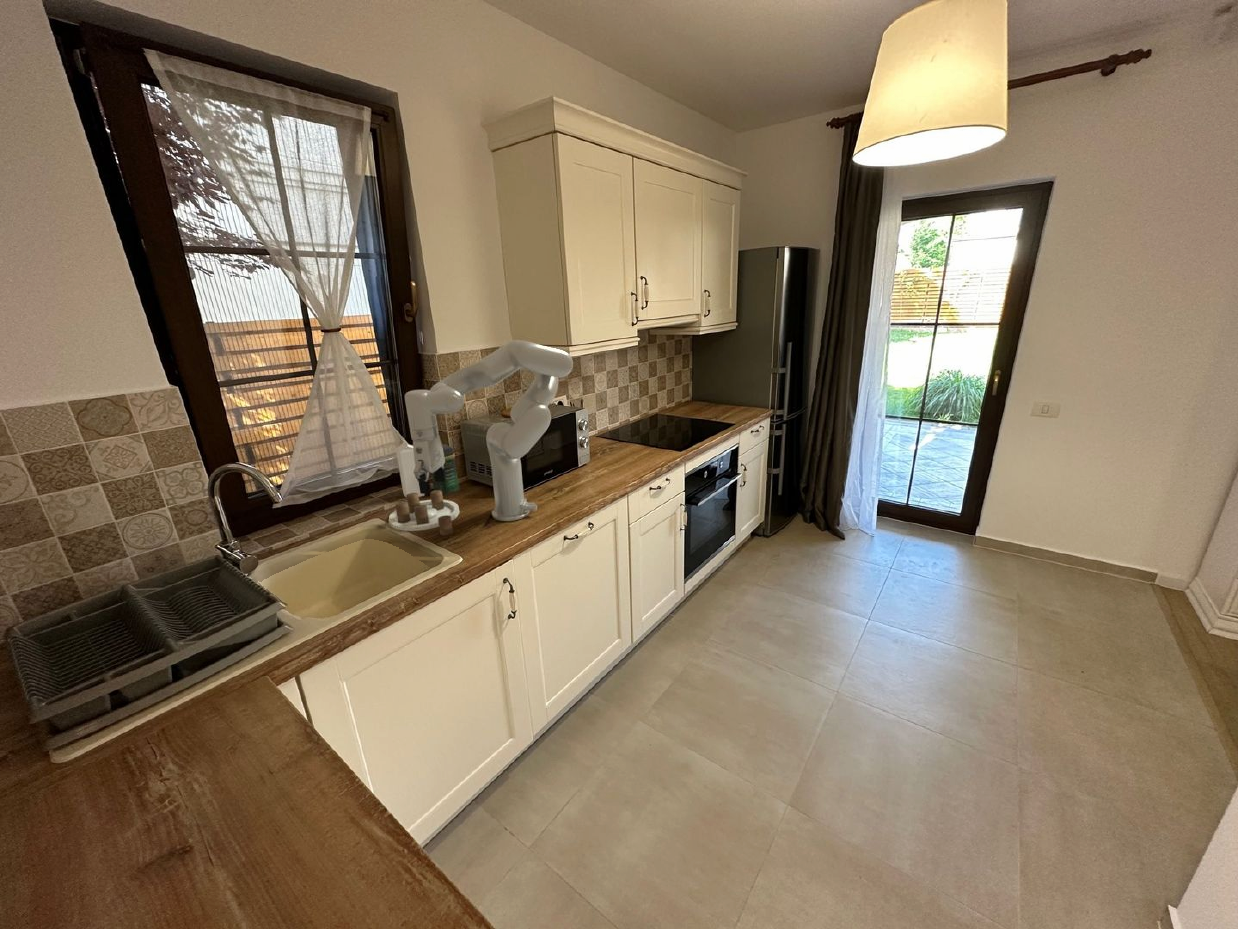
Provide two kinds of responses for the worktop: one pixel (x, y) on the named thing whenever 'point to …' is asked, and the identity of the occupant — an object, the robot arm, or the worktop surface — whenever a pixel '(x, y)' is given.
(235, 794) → the worktop surface
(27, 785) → the worktop surface
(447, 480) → the coffee jar
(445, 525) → the tan rounded cylinder
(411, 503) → the seated bead
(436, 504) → the brown cylinder
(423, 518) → the brown round peg
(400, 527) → the groove tray
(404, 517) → the brown round peg
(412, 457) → the milk
